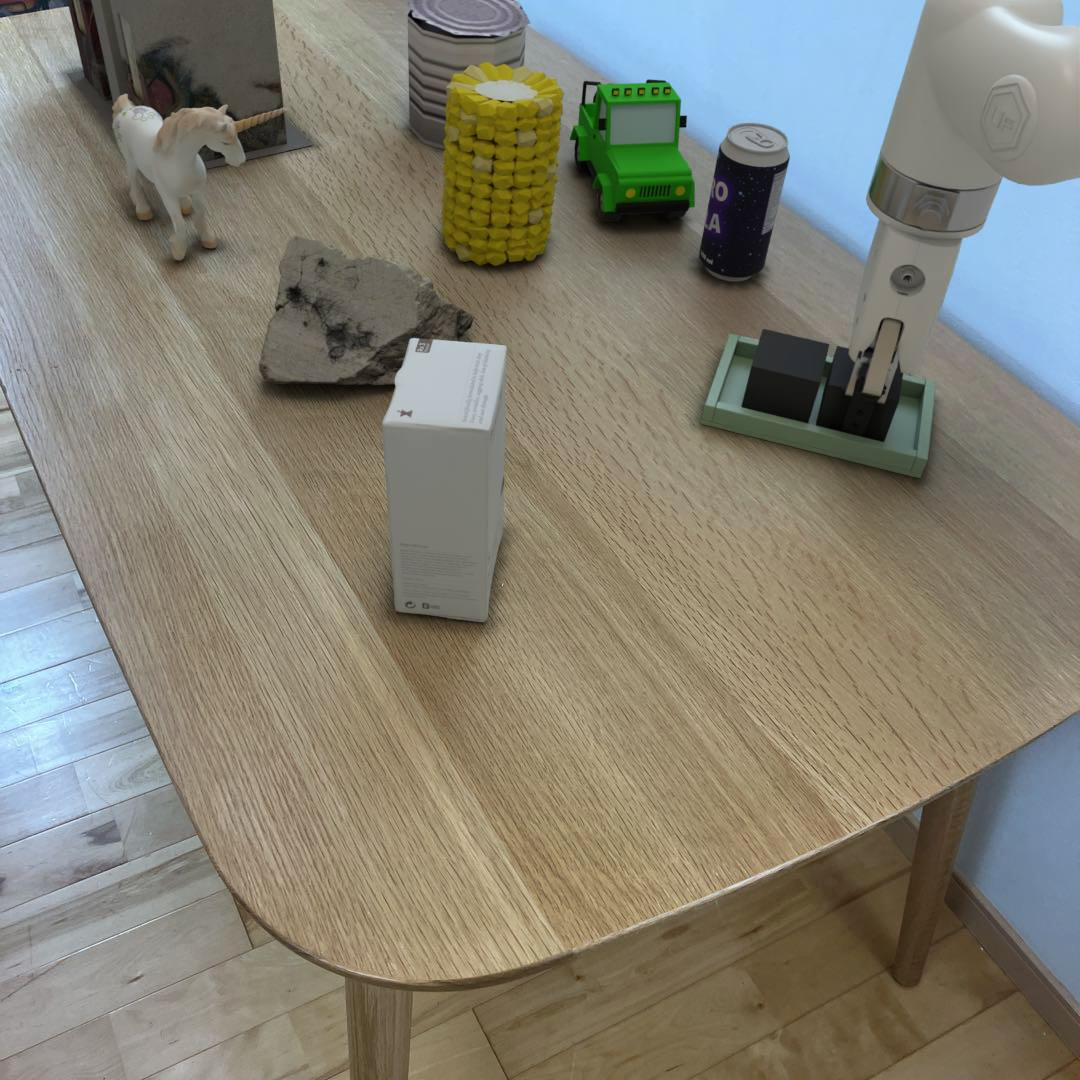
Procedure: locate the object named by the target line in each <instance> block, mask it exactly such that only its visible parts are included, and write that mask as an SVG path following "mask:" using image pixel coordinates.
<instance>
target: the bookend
mask: <svg viewBox="0 0 1080 1080" xmlns="http://www.w3.org/2000/svg"><path fill="white" fill-rule="evenodd" d="M66 1H67V6H68V10H69V14H70V19H71V24H72V27H73V32H74V36H75V41H76V45H77V49H78V53H79V57H80V61H81V66H82V70H79V71H73V72H67V73H66V75H67V76H68V77H69V79H71V81H72V82H73V83H74V85H75V86H76V87H77V88H78V90H79V91H80V92H81V94H82V95H83V96H84V97H85V98H86V100H87V101H88V102H89V103H90V105H91V106H92V107H93V109H94V110H95V111H96V113H97V114H98V115H99V116H100V118H102V120H103V121H104V122H105V123H106V125H107V126H108V128H109V129H110V130H111V131H112V133H114V131H113V127H112V126H113V121H114V120H113V113H114V111H113V109H112V107H113V106H114V104H115V102H116V101H117V99H118V97H120V96H121V95H124V94H128V99H129V100H130V101H131V102H132V103H133V104H134V105H135V106H147V107H150V108H152V109H154V110H155V111H156V112H158V113H159V114H160V116H161V117H162V119H163V121H164V120H165V119H166V118H168V117H170V116H171V113H177V112H178V111H179V110H180V109H183V108H190V109H191V108H203V107H212V108H214V109H216V110H218V109H219V108H220V107H222V106H224V105H228V107H227V109H226V114H225V115H227V116H228V117H231V118H232V120H233V121H234V122H235V121H240V120H243V119H248V118H250V117H255V116H256V115H261V114H263V113H268V112H270V111H274V110H278V109H281V108H285V107H284V99H283V98H284V97H283V89H282V80H281V79H282V78H281V71H280V70H281V67H280V58H279V49H278V40H277V31H276V20H275V11H274V1H273V0H66ZM237 137H238V139H239V141H240V143H241V146H242V148H243V152H244V154H245V157H246V160H245V161H249V160H252V159H256V158H257V159H258V158H261V157H267V156H270V155H275V154H280V153H283V152H288V151H293V150H298V149H302V148H305V147H311V146H313V145H314V144H313V143H312V142H311V141H310V140H309V139H308V138H307V137H306V136H305V135H303V133H302V132H300V131H299V130H298V129H297V127H295V126H294V125H293V124H292V123H291V121H289V120H288V118H287V117H285V113H283V114H280V115H279V116H276V117H274V118H271V119H269V120H267V121H264V122H262V123H260V124H256V125H255V126H253V127H250V128H248V129H246V130H242V131H241V132H237ZM198 154H199V156H200V158H201V159H202V161H203V163H204V166H205V169H206V170H208V169H213V168H217V167H221V166H226V165H229V164H228V163H226V161H225V156H224V155H223V154H222V153H221V152H216V151H213V150H211V149H210V148H208V147H207V145H206V144H205V145H204V146H203V147H202V148H201V149H200V150H199V152H198Z"/></svg>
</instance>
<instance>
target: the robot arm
mask: <svg viewBox="0 0 1080 1080" xmlns="http://www.w3.org/2000/svg"><path fill="white" fill-rule="evenodd" d="M1063 23H1064V4H1063V0H925V2H924V5H923V8H922V9H921V14H920V18H919V20H918V24H917V28H916V30H915V34H914V37H913V40H912V44H911V48H910V50H909V54H908V57H907V60H906V65H905V67H904V71H903V74H902V77H901V81H900V84H899V88H898V91H897V93H896V97H895V99H894V104H893V107H892V111H891V114H890V118H889V121H888V124H887V127H886V131H885V133H884V137H883V142H882V144H881V146H880V150H879V152H878V156H877V160H876V164H875V167H874V170H873V174H872V177H871V179H870V182H869V186H868V189H867V193H866V196H865V201H866V205H867V206H868V209H869V210H870V212H871V213H872V214H873V215H874V216H875V217H876V218H877V219H878V220H877V223H876V224H877V225H876V228H875V230H874V234H873V237H872V241H871V245H870V248H869V250H868V255H867V258H866V262H865V265H864V269H863V273H862V277H861V281H860V285H859V289H858V294H857V298H856V305H855V310H854V316H853V322H852V328H851V335H850V343H849V347H848V348H849V356H850V358H851V359H852V360H853V362H854V365H853V368H852V372H851V375H850V378H849V381H848V384H847V387H846V386H843V387H842V390H841V393H840V396H839V399H838V402H837V405H836V408H835V411H834V414H833V417H832V421H831V424H830V428H829V429H832V430H836V431H840V432H844V433H848V434H852V435H856V436H860V437H864V438H869V439H873V440H874V437H875V434H876V431H877V429H878V426H879V423H880V421H881V418H882V415H883V412H884V410H885V407H886V404H887V402H888V396H887V395H888V392H889V389H890V386H891V383H892V380H893V377H894V374H895V371H896V369H897V366H898V362H899V363H900V370H901V373H903V374H906V375H909V376H915V375H917V374H918V373H919V372H920V371H921V368H922V365H923V362H924V359H925V355H926V353H927V350H928V348H929V344H930V342H931V339H932V336H933V333H934V330H935V326H936V325H937V321H938V318H939V316H940V312H941V309H942V307H943V304H944V301H945V298H946V295H947V292H948V289H949V286H950V283H951V281H952V277H953V274H954V271H955V268H956V265H957V262H958V258H959V254H960V251H961V248H962V244H963V240H964V239H966V238H969V237H972V236H974V235H976V234H978V233H979V232H980V231H981V230H982V229H984V226H985V224H986V221H987V220H988V216H989V214H990V211H991V209H992V206H993V204H994V201H995V198H996V196H997V193H998V191H999V189H1000V186H1001V183H1002V180H1003V178H1004V179H1005V180H1007V181H1010V182H1011V183H1015V184H1017V185H1023V186H1028V187H1029V186H1030V187H1043V186H1050V185H1054V184H1059V183H1062V182H1066V181H1072V180H1076V179H1080V24H1078V25H1077V24H1076V25H1063ZM862 365H867V366H869V367H868V370H867V373H866V376H860V378H859V375H860V371H861V368H862ZM858 378H859V379H858Z"/></svg>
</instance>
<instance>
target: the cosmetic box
mask: <svg viewBox="0 0 1080 1080" xmlns="http://www.w3.org/2000/svg"><path fill="white" fill-rule="evenodd" d="M507 356H508V346H507V345H505V344H495V343H484V342H483V343H482V342H469V341H460V340H459V341H446V340H432V339H418V338H412V339H410V340H409V344H408V347H407V351H406V355H405V358H404V362H403V365H402V368H401V369H400V370H399V371H398V372H397V374H396V376H395V384H394V386H395V387H394V390H393V394H392V397H391V400H390V403H389V405H388V408H387V410H386V413H385V414H384V417H383V419H382V421H381V429H382V430H381V431H382V447H383V460H384V474H385V488H386V489H385V491H386V503H387V517H388V519H387V520H388V532H389V533H388V534H389V547H390V558H391V559H390V560H391V573H392V574H391V575H392V587H393V588H392V589H393V599H394V601H393V603H394V610H395V611H396V612H398V613H405V614H416V615H417V614H418V615H425V616H434V617H441V618H446V619H452V620H453V619H454V620H461V621H470V622H478V623H485V622H486V621H487V620H488V618H489V609H490V608H489V606H490V599H491V598H490V596H491V590H492V582H493V577H494V571H495V567H496V562H497V557H498V552H499V548H500V545H501V542H502V538H503V534H504V511H505V509H504V507H505V466H506V465H505V461H506V459H505V458H506V456H505V455H506V385H507V384H506V383H507V358H508V357H507Z"/></svg>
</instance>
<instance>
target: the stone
mask: <svg viewBox="0 0 1080 1080" xmlns="http://www.w3.org/2000/svg"><path fill="white" fill-rule="evenodd" d="M277 268H278V271H279V275H280V278H279V282H278V289H277V296H276V300H275V301H274V302H275V303H274V309H275V312H274V313H273V315H272V316H271V318H270V319H269V321H268V324H267V329H266V333H265V337H264V341H263V345H262V348H261V351H260V360H259V363H258V368H259V369H258V371H259V373H260V375H261V376H262V379H263V381H266V382H267V383H269V384H283V385H285V384H303V385H305V384H306V385H307V384H313V385H314V384H325V385H336V386H351V385H352V386H353V385H359V386H364V385H373V386H389V385H395V376H396V374H397V372H398V371H399V370H400V369H401V368H402V365H403V362H404V358H405V355H406V351H407V347H408V344H409V340H410V339H412V338H418V339H432V340H446V341H459V342H460V338H462V337H463V336H464V334H465V333H466V332H467V331H469V330H470V329H471V328H472V326H473V323H474V320H475V314H474V313H472V312H469V311H466V310H464V308H462V307H461V306H458V305H456V304H454V303H453V302H449V301H448V300H445V299H443V298H441V297H439V295H438V294H437V292H436V289H434V282H433V281H432V280H431V278H429V277H424V278H422V277H421V276H420V275H419V272H418V271H416V270H415V269H413V268H411V267H407V266H405V265H402V264H400V263H398V262H395V261H392V260H389V259H387V258H378V257H375V256H369V255H367V256H366V257H365V258H364V259H363V258H361V257H352V258H351V257H350V258H347V255H346V254H344V252H343V251H342V250H341V249H339V248H337V247H336V246H334V245H332V244H329V243H327V242H325V241H323V240H317V239H312V238H309V237H307V236H301V235H293V236H292V237H291V238H289V240H288V242H287V244H286V248H285V251H284V255H283V258H282V259H281V260H280V262H279V265H278V267H277Z"/></svg>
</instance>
